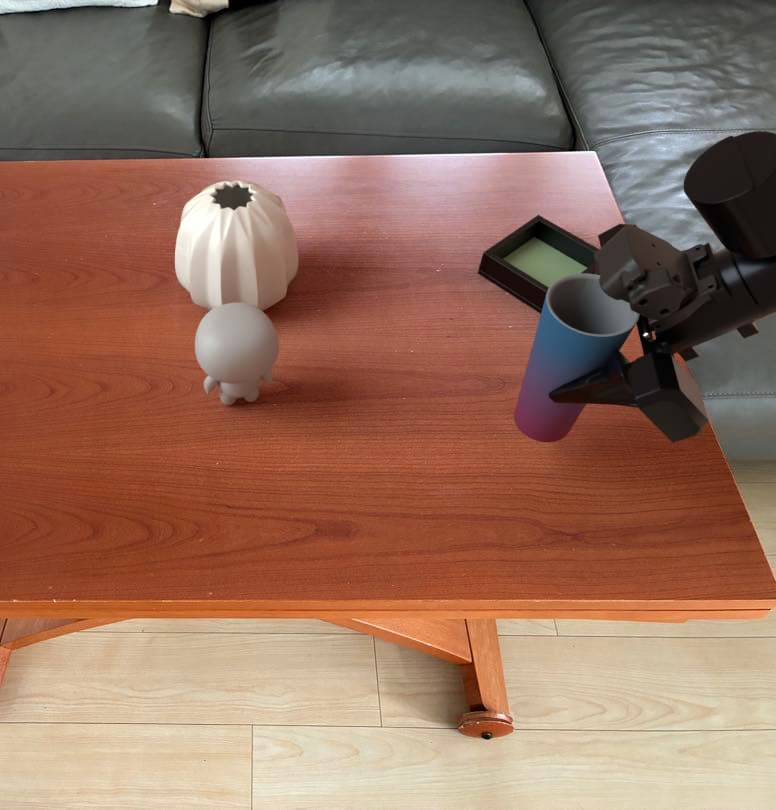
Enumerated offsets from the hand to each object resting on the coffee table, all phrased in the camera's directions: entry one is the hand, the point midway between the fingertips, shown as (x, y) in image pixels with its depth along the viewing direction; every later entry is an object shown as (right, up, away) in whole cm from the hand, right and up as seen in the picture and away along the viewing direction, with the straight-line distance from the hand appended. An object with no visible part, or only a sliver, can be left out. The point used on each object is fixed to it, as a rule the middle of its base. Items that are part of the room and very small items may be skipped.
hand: (547, 369), depth 65 cm
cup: (+2, -5, +6) cm, 7 cm away
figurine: (-26, -3, +16) cm, 30 cm away
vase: (-26, +11, +26) cm, 38 cm away
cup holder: (+9, +12, +25) cm, 30 cm away
